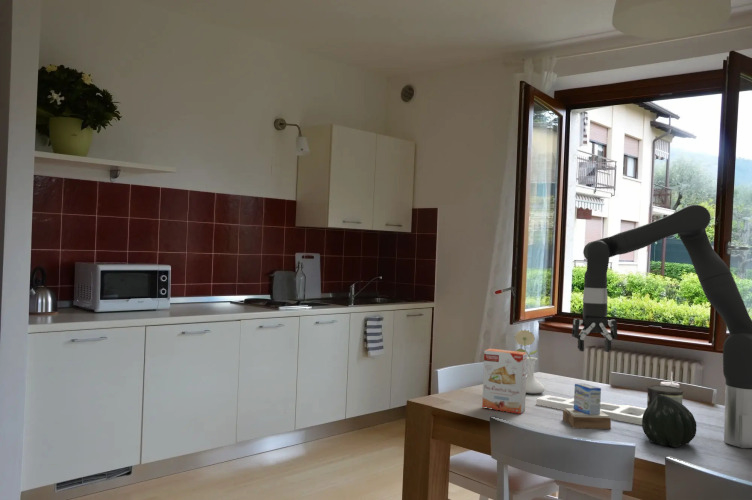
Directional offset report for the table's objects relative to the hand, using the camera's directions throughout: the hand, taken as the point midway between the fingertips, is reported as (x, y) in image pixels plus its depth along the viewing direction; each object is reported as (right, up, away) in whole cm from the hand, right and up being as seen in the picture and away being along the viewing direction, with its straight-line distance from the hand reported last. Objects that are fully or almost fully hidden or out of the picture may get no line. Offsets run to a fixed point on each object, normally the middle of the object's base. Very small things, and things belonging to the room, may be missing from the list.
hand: (594, 351), depth 205 cm
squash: (+15, -25, -19) cm, 35 cm away
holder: (+11, -25, +19) cm, 33 cm away
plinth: (-3, -24, 0) cm, 24 cm away
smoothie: (+36, -26, +25) cm, 51 cm away
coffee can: (+19, -25, -7) cm, 32 cm away
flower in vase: (-10, -24, +48) cm, 54 cm away
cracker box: (-26, -23, +16) cm, 39 cm away
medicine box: (-2, -20, 0) cm, 20 cm away
